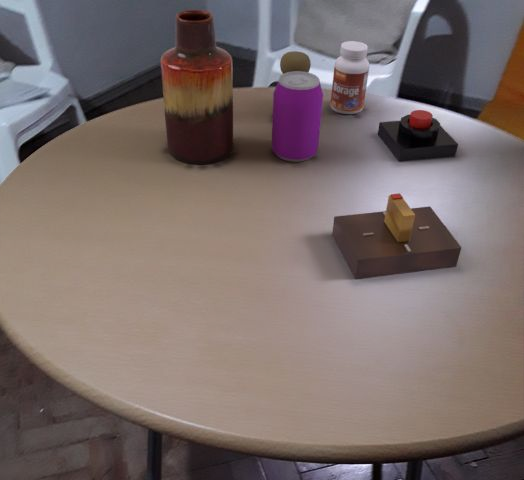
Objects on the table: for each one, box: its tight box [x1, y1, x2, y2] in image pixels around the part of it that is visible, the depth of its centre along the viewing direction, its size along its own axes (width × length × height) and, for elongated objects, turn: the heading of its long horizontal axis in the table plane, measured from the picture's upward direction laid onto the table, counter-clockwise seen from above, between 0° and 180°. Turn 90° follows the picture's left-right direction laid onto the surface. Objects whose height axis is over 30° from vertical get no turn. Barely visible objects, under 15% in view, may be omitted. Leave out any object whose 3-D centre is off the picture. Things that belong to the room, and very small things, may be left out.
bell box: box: [377, 114, 459, 163], centre depth 105 cm, size 10×10×4 cm
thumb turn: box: [384, 192, 415, 242], centre depth 81 cm, size 5×2×4 cm, turn 13°
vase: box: [160, 9, 234, 165], centre depth 97 cm, size 11×11×20 cm
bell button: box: [409, 109, 434, 128], centre depth 104 cm, size 4×4×2 cm
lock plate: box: [331, 206, 462, 280], centre depth 84 cm, size 14×10×3 cm
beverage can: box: [271, 71, 324, 163], centre depth 100 cm, size 8×8×12 cm
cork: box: [279, 50, 312, 74], centre depth 109 cm, size 6×6×11 cm
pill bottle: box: [329, 40, 371, 115], centre depth 113 cm, size 6×6×11 cm
